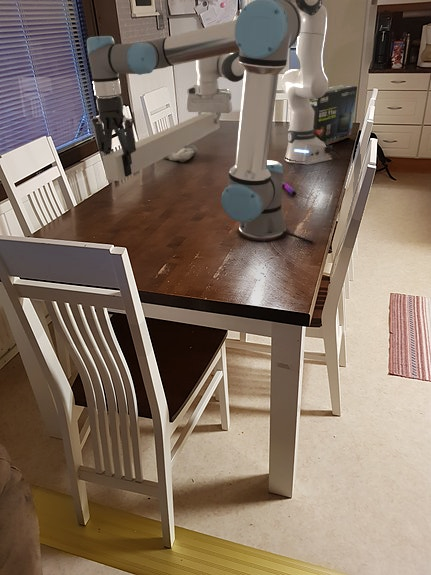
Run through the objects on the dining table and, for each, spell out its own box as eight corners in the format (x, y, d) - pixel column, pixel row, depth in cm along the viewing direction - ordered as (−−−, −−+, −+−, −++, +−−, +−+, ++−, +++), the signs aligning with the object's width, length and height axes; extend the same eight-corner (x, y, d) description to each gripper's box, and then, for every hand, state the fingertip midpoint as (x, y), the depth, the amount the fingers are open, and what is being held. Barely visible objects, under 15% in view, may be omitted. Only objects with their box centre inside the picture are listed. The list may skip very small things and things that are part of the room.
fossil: (184, 156, 217) (163, 136, 220) (174, 174, 223) (154, 154, 227) (205, 153, 231) (186, 134, 234) (195, 171, 237) (176, 152, 240)
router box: (314, 151, 231) (318, 94, 217) (296, 148, 237) (299, 92, 224) (352, 138, 251) (358, 85, 238) (335, 135, 258) (340, 83, 245)
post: (119, 181, 142) (115, 157, 138) (106, 179, 144) (102, 156, 140) (219, 128, 202) (219, 110, 199) (209, 127, 204) (208, 110, 200)
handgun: (263, 182, 193) (263, 177, 192) (280, 180, 194) (280, 175, 193) (277, 198, 176) (277, 193, 175) (297, 195, 177) (297, 191, 176)
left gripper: (141, 94, 134) (151, 173, 146) (91, 93, 140) (105, 169, 152) (127, 98, 128) (138, 180, 140) (76, 97, 135) (91, 175, 147)
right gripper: (233, 87, 189) (235, 122, 197) (189, 87, 197) (192, 120, 204) (228, 90, 185) (229, 125, 192) (183, 89, 192) (186, 123, 199)
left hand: (121, 174), depth 146 cm, fingers closed on post, 5 cm apart
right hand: (209, 123), depth 198 cm, fingers closed on post, 5 cm apart
